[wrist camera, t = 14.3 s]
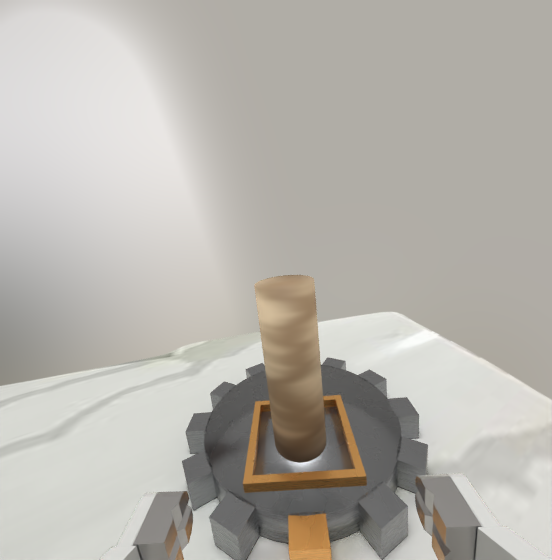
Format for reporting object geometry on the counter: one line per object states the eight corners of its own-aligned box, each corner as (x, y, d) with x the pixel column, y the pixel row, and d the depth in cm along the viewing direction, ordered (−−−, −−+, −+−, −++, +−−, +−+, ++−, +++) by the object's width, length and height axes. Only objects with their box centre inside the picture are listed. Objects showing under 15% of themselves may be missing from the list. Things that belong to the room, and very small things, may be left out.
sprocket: (137, 588, 16) (124, 548, 16) (219, 379, 37) (215, 358, 37) (501, 572, 15) (506, 529, 15) (375, 366, 36) (374, 344, 36)
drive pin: (274, 464, 21) (250, 293, 18) (275, 422, 25) (257, 278, 22) (330, 460, 21) (317, 286, 17) (322, 418, 25) (310, 272, 22)
